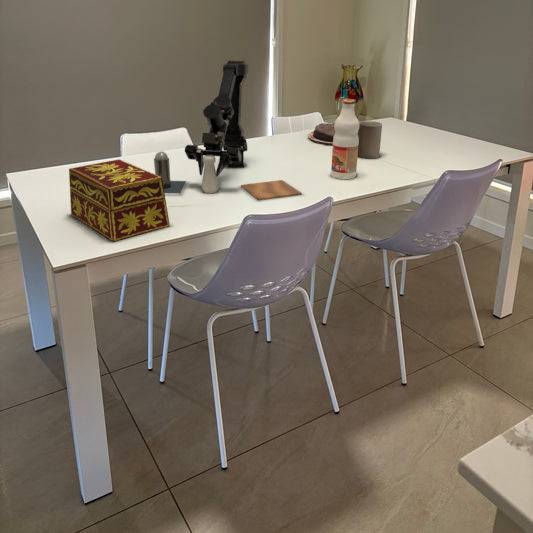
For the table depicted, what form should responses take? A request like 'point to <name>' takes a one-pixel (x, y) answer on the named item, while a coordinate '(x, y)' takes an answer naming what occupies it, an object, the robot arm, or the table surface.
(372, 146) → the pillar candle
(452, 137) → the table surface
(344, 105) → the fruit juice
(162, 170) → the pepper shaker
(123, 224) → the decorative box
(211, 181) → the salt shaker
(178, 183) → the slate mat
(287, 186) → the oak board
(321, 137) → the chocolate cake
